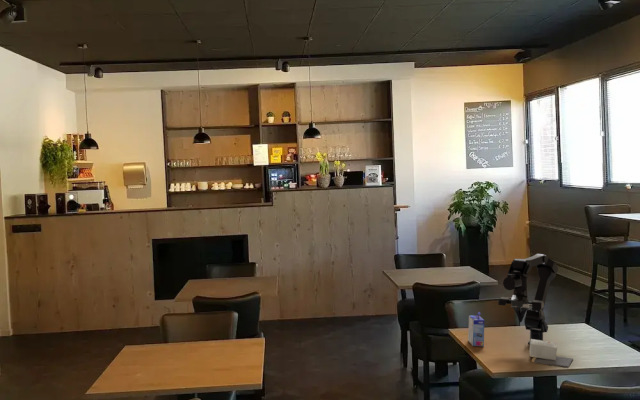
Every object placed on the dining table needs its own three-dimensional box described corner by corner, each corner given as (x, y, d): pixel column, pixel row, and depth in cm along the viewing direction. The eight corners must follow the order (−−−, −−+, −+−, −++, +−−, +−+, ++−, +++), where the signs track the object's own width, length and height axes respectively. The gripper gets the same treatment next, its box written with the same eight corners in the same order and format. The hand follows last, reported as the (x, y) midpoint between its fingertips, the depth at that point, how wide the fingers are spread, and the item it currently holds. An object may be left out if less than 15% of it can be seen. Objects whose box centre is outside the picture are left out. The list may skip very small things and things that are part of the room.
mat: (537, 354, 258) (537, 352, 258) (573, 359, 251) (573, 357, 251) (531, 362, 248) (531, 359, 248) (568, 367, 240) (568, 364, 240)
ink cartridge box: (484, 346, 271) (485, 315, 271) (472, 346, 271) (472, 315, 271) (479, 340, 281) (479, 310, 281) (467, 340, 281) (468, 310, 281)
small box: (529, 356, 251) (555, 360, 248) (530, 343, 251) (557, 347, 247) (529, 351, 259) (555, 355, 255) (530, 338, 258) (556, 342, 255)
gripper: (494, 288, 263) (494, 323, 263) (538, 292, 253) (538, 328, 254) (501, 284, 272) (501, 318, 273) (544, 288, 263) (543, 323, 263)
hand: (520, 322), depth 265 cm, fingers closed
